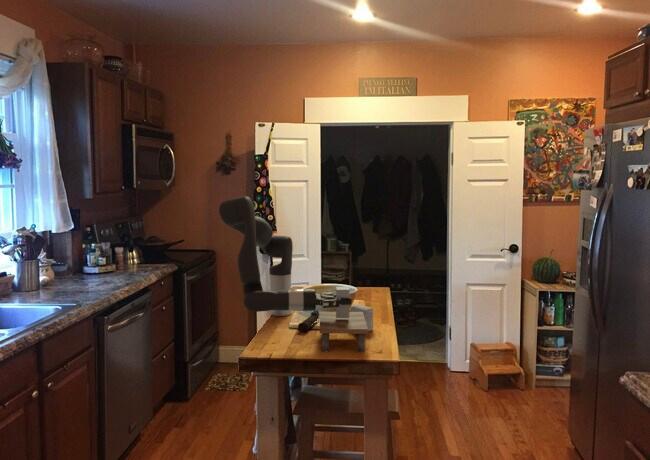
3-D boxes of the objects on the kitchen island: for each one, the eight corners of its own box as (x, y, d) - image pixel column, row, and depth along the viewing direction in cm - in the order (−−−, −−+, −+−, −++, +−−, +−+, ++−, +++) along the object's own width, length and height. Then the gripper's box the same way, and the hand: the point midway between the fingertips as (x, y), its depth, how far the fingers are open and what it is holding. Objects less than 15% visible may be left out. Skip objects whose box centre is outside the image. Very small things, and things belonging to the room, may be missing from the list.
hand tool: (307, 333, 195) (307, 321, 195) (297, 332, 197) (297, 320, 196) (324, 320, 213) (324, 309, 213) (315, 319, 214) (315, 308, 214)
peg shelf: (320, 332, 196) (320, 311, 195) (362, 332, 196) (363, 311, 195) (319, 352, 174) (319, 328, 173) (367, 352, 174) (367, 329, 173)
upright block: (335, 314, 186) (336, 286, 185) (348, 314, 186) (349, 287, 185) (336, 317, 182) (336, 289, 181) (349, 318, 182) (349, 289, 181)
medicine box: (373, 330, 200) (373, 307, 199) (365, 332, 196) (365, 310, 196) (358, 325, 205) (358, 304, 204) (350, 328, 202) (350, 306, 201)
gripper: (302, 294, 175) (353, 293, 176) (301, 285, 189) (347, 284, 190) (302, 316, 175) (353, 315, 177) (300, 305, 190) (347, 304, 191)
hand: (350, 299), depth 184 cm, fingers closed on upright block, 4 cm apart
